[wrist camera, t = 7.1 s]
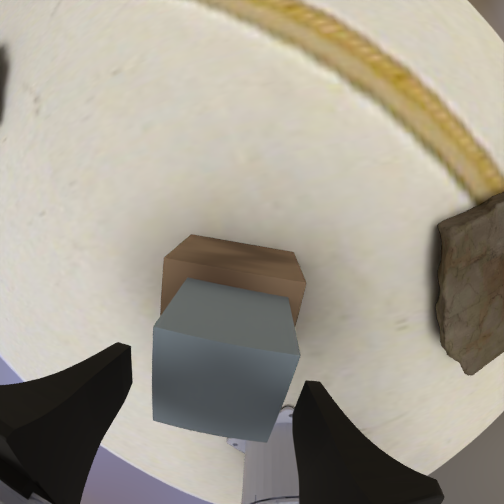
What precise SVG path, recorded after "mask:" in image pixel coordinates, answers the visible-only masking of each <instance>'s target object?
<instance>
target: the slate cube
mask: <svg viewBox="0 0 504 504" xmlns="http://www.w3.org/2000/svg"><path fill="white" fill-rule="evenodd" d="M299 358H300V351H299V346H298V341H297V337H296V332H295V327H294V322H293V318H292V313H291V308H290V304H289V299H288V297H283V296H278V295H272V294H267V293H262V292H256V291H251V290H246V289H241V288H236V287H231V286H226V285H221V284H216V283H211V282H207V281H202V280H197V279H192V278H187V279H186V280H185V282H184V283H183V285H182V286H181V287H180V289H179V290H178V292H177V293H176V295H175V296H174V297H173V299H172V300H171V302H170V303H169V305H168V306H167V307H166V309H165V310H164V312H163V313H162V315H161V316H160V318H159V319H158V321H157V322H156V323H155V325H154V326H153V355H152V405H153V420H154V421H157V422H161V423H164V424H168V425H172V426H176V427H180V428H184V429H188V430H193V431H197V432H202V433H207V434H212V435H217V436H222V437H228V438H235V439H241V440H248V441H256V442H265V443H267V442H268V439H269V437H270V435H271V432H272V430H273V427H274V425H275V422H276V420H277V417H278V415H279V412H280V410H281V407H282V405H283V402H284V400H285V397H286V394H287V392H288V389H289V386H290V383H291V381H292V378H293V375H294V372H295V370H296V367H297V364H298V361H299Z"/></svg>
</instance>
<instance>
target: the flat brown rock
mask: <svg viewBox="0 0 504 504" xmlns="http://www.w3.org/2000/svg"><path fill="white" fill-rule="evenodd" d="M438 229H439V232H440V234H441V242H442V246H441V262H440V265H439V268H438V272H437V274H438V280H439V287H440V294H439V299H438V302H437V304H436V312H437V320H438V323H439V327H440V342H441V345H442V347H443V348H444V349H445V350H446V353H447V355H448V356H449V357H451V358H453V359H454V360H456V361H458V362H459V363H460V365H461V367H462V369H463V371H464V373H465V374H467V375H474V374H475V373H476V372H478V371H479V370H480V369H482V368H483V367H484V366H485V365H487V364H488V363H489V362H491V361H492V360H494V359H495V358H496V357H497V356H499V355H500V354H502V353H503V352H504V192H503V193H501V194H497V195H495V196H492V197H491V198H489V200H488V201H487V202H485V203H483V204H481V205H480V206H477V207H473V208H472V209H470V210H468V211H466V212H464V213H461V214H459V215H457V216H454V217H451V218H448V219H446V220H444V221H442V222H441V223H439V224H438Z"/></svg>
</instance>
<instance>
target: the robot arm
mask: <svg viewBox="0 0 504 504" xmlns="http://www.w3.org/2000/svg"><path fill="white" fill-rule="evenodd" d="M132 382H133V381H132V363H131V346H129V345H126V344H122V343H119V342H117V343H115V344H113V345H111V346H110V347H108V348H106V349H104V350H103V351H101V352H99V353H97V354H95V355H93V356H92V357H90V358H88V359H86V360H84V361H82V362H80V363H78V364H76V365H74V366H72V367H69V368H67V369H65V370H63V371H60V372H58V373H55V374H52V375H49V376H46V377H43V378H40V379H36V380H31V381H27V382H23V383H17V384H9V385H0V504H80V501H81V497H82V493H83V490H84V487H85V483H86V480H87V477H88V474H89V471H90V468H91V465H92V463H93V460H94V457H95V455H96V452H97V450H98V448H99V445H100V443H101V441H102V439H103V437H104V435H105V434H106V432H107V430H108V429H109V427H110V425H111V424H112V422H113V420H114V418H115V417H116V415H117V413H118V412H119V410H120V408H121V407H122V405H123V403H124V401H125V399H126V397H127V395H128V392H129V390H130V387H131V385H132ZM227 443H228V444H229V445H231V446H233V447H234V448H236V449H238V450H239V451H241V452H243V453H245V459H244V474H243V489H242V503H241V504H441V503H442V501H443V499H444V495H443V493H442V490H441V488H440V486H439V484H438V482H437V480H436V479H433V478H431V477H428V476H426V475H423V474H421V473H419V472H416V471H414V470H412V469H411V468H409V467H407V466H405V465H403V464H401V463H400V462H398V461H397V460H395V459H393V458H392V457H391V456H389V455H388V454H386V453H385V452H383V451H382V450H381V449H379V448H378V447H377V446H376V445H375V444H373V443H372V442H371V441H370V440H369V439H368V438H367V437H366V436H364V435H363V434H362V433H361V432H360V431H359V430H358V428H357V427H356V426H355V425H354V424H353V423H352V422H351V421H350V420H349V419H348V417H347V416H346V415H345V414H344V413H343V411H342V410H341V409H340V408H339V406H338V405H337V404H336V403H335V401H334V400H333V399H332V397H331V396H330V395H329V393H328V392H327V391H326V389H325V388H324V386H323V385H322V384H321V383H320V382H318V381H307V380H306V381H305V384H304V386H303V389H302V391H301V394H300V396H299V399H298V401H297V404H296V406H295V409H293V408H292V407H285V408H283V409H282V410H280V412H279V415H278V417H277V420H276V422H275V425H274V427H273V430H272V432H271V435H270V437H269V439H268V442H267V443H265V442H256V441H248V440H241V439H235V438H227Z"/></svg>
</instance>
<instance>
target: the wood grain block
mask: <svg viewBox="0 0 504 504" xmlns="http://www.w3.org/2000/svg"><path fill="white" fill-rule="evenodd" d="M187 278H192V279H197V280H202V281H207V282H211V283H216V284H221V285H226V286H231V287H236V288H241V289H246V290H251V291H256V292H262V293H267V294H272V295H278V296H283V297H288V299H289V304H290V308H291V313H292V318H293V322H294V327H295V325H296V322H297V318H298V314H299V310H300V306H301V302H302V298H303V295H304V290H305V286H306V280H305V278H304V276H303V273H302V271H301V269H300V266H299V264H298V262H297V259H296V257H295V255H294V252H289V251H284V250H278V249H272V248H267V247H261V246H255V245H249V244H244V243H238V242H232V241H226V240H221V239H215V238H209V237H203V236H197V235H190V236H189V237H188V238H187V239H185V240H184V241H183V242H182V243H181V244H179V245H178V246H177V247H176V248H175V249H174V250H172V251H171V252H170V253H169V254H168V255H167V256H165V257H164V265H163V278H162V293H161V313H160V316H161V315H162V313H163V312H164V310H165V309H166V307H167V306H168V305H169V303H170V302H171V300H172V299H173V297H174V296H175V295H176V293H177V292H178V290H179V289H180V287H181V286H182V285H183V283H184V282H185V280H186V279H187Z"/></svg>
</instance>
